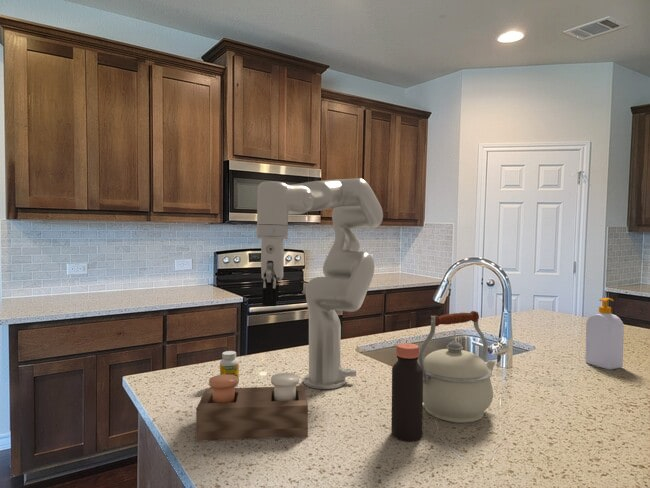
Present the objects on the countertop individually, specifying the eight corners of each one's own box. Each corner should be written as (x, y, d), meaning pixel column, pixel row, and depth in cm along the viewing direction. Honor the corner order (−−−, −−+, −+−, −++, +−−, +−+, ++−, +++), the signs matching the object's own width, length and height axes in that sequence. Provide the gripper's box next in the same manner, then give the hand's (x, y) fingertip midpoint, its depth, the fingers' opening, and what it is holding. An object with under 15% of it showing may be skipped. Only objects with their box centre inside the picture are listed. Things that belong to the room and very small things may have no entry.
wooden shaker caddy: (305, 413, 108) (305, 385, 108) (307, 436, 96) (308, 405, 96) (205, 417, 106) (205, 388, 105) (196, 441, 94) (196, 409, 93)
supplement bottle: (234, 380, 132) (234, 349, 131) (241, 386, 127) (241, 353, 127) (217, 384, 129) (217, 351, 128) (223, 389, 124) (223, 356, 124)
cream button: (298, 397, 105) (298, 372, 105) (299, 408, 99) (299, 381, 98) (271, 398, 104) (271, 373, 104) (270, 409, 98) (270, 382, 98)
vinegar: (415, 445, 93) (417, 351, 92) (386, 436, 96) (387, 346, 96) (426, 432, 98) (427, 344, 98) (398, 425, 102) (399, 340, 101)
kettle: (446, 435, 97) (448, 324, 96) (396, 406, 113) (397, 310, 112) (523, 414, 108) (525, 314, 108) (467, 390, 125) (469, 303, 124)
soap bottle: (624, 367, 146) (626, 299, 146) (610, 370, 144) (612, 300, 143) (598, 360, 155) (600, 296, 154) (585, 362, 152) (586, 297, 151)
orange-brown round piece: (239, 399, 103) (239, 374, 103) (236, 410, 97) (236, 383, 97) (211, 400, 103) (211, 374, 103) (207, 411, 96) (206, 384, 96)
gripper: (286, 232, 98) (284, 308, 98) (288, 233, 115) (287, 298, 115) (252, 231, 98) (251, 308, 98) (260, 233, 115) (259, 298, 115)
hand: (270, 302), depth 107 cm, fingers open, 9 cm apart
